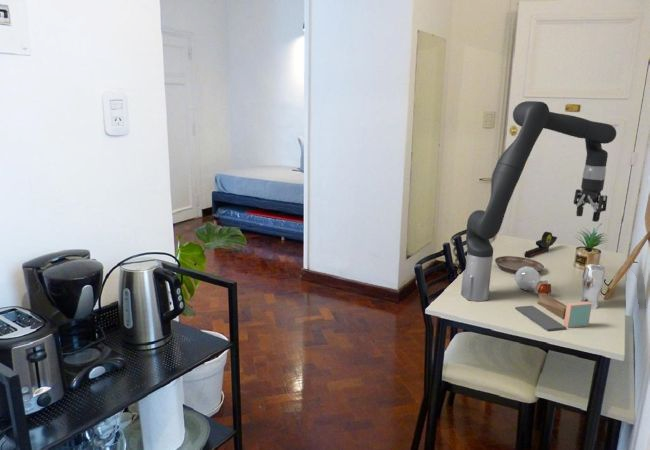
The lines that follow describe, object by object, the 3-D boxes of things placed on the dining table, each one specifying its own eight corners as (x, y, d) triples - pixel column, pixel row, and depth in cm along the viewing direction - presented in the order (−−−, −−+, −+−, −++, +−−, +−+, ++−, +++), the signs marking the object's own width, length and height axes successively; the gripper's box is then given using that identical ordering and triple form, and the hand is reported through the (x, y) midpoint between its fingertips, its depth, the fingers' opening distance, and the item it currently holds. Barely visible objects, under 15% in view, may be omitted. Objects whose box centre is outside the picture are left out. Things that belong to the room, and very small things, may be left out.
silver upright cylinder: (580, 300, 190) (586, 262, 186) (601, 305, 186) (607, 266, 182) (576, 305, 185) (582, 267, 181) (597, 310, 180) (603, 271, 177)
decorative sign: (551, 247, 258) (553, 229, 255) (555, 248, 256) (558, 229, 254) (524, 257, 241) (526, 237, 238) (528, 258, 239) (531, 238, 237)
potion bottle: (518, 287, 206) (544, 305, 192) (505, 276, 201) (530, 294, 188) (533, 269, 205) (559, 286, 191) (520, 258, 200) (546, 275, 187)
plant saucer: (532, 263, 233) (533, 256, 232) (551, 278, 213) (552, 271, 212) (488, 261, 233) (489, 255, 233) (502, 277, 213) (503, 269, 213)
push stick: (562, 320, 173) (564, 308, 171) (537, 304, 186) (539, 293, 185) (568, 319, 173) (570, 307, 172) (542, 303, 186) (544, 292, 185)
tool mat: (547, 331, 163) (547, 328, 163) (515, 308, 180) (515, 306, 180) (565, 329, 165) (566, 327, 165) (532, 307, 182) (532, 305, 182)
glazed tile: (568, 328, 166) (571, 305, 164) (563, 325, 168) (567, 303, 166) (588, 326, 168) (592, 304, 166) (583, 323, 170) (587, 301, 168)
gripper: (572, 174, 195) (566, 214, 199) (599, 180, 182) (592, 223, 186) (588, 174, 197) (582, 214, 201) (616, 180, 184) (609, 222, 188)
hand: (587, 218), depth 194 cm, fingers open, 8 cm apart
